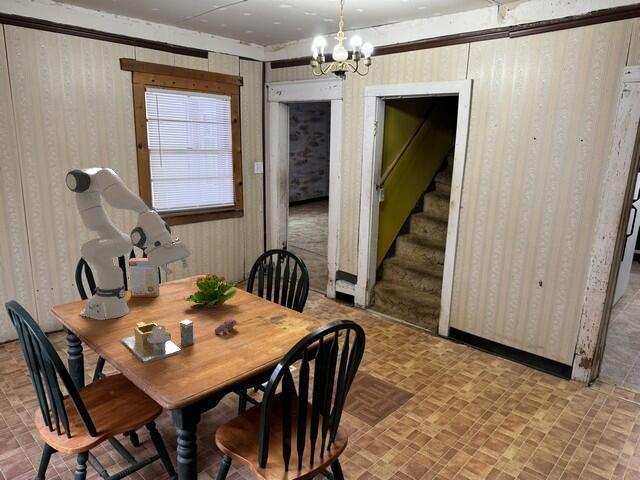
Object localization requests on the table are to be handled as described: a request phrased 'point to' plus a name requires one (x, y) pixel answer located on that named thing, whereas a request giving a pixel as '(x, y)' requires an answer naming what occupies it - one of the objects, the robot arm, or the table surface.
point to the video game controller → (223, 326)
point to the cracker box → (143, 278)
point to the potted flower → (212, 291)
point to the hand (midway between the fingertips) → (178, 270)
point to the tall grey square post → (186, 332)
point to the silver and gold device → (150, 342)
